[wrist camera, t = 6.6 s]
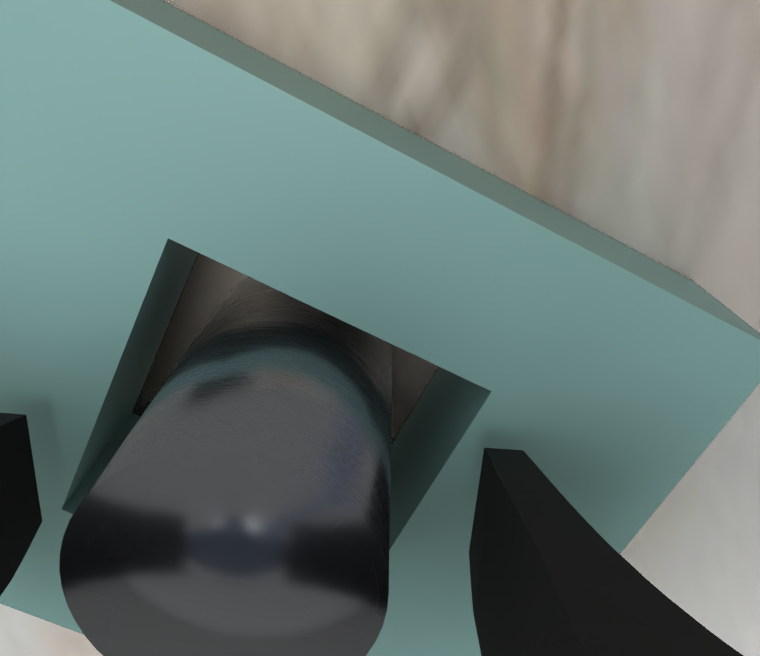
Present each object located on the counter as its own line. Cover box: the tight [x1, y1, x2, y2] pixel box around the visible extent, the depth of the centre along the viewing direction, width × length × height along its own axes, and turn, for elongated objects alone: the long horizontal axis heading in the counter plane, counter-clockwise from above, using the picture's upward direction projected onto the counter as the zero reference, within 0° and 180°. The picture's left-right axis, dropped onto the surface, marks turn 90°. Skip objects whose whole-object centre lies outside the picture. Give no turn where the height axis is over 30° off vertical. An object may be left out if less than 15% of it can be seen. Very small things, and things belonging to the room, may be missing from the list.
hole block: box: [0, 0, 760, 656], centre depth 13 cm, size 13×11×4 cm
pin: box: [59, 277, 392, 656], centre depth 12 cm, size 4×4×7 cm
